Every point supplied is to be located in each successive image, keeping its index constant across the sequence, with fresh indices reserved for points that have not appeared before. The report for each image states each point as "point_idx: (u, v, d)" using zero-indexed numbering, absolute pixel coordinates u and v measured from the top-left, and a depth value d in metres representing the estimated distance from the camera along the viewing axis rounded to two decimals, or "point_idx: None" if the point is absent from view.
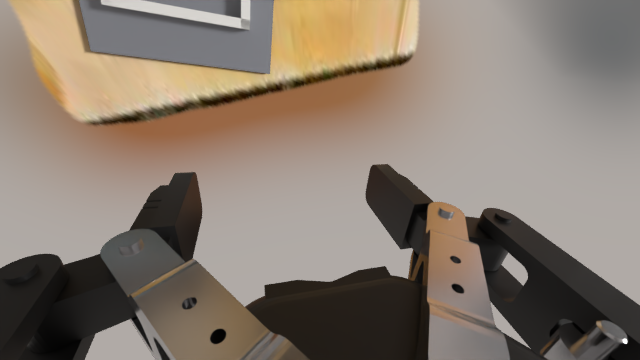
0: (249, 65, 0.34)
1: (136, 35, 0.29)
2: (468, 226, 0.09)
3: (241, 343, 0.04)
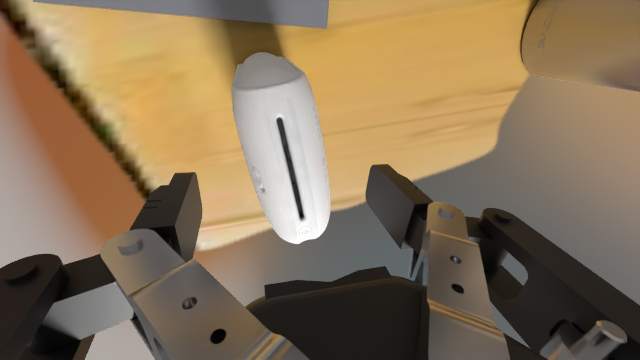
0: None
1: None
2: (468, 226, 0.09)
3: (242, 343, 0.04)
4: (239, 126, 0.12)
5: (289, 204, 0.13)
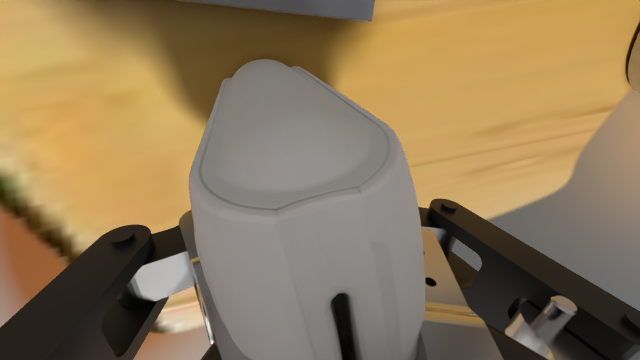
0: None
1: None
2: None
3: None
4: (211, 289, 0.04)
5: None
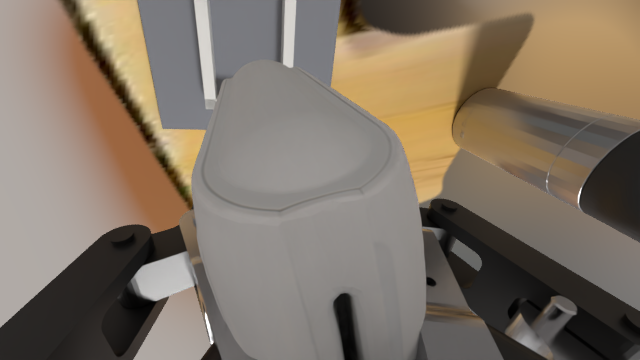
0: (166, 103, 0.26)
1: None
2: None
3: None
4: (214, 290, 0.04)
5: None
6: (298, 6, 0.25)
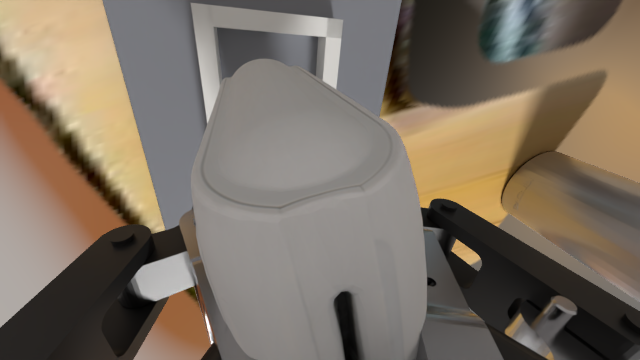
0: (171, 212, 0.21)
1: (156, 41, 0.15)
2: None
3: None
4: (214, 288, 0.04)
5: None
6: None
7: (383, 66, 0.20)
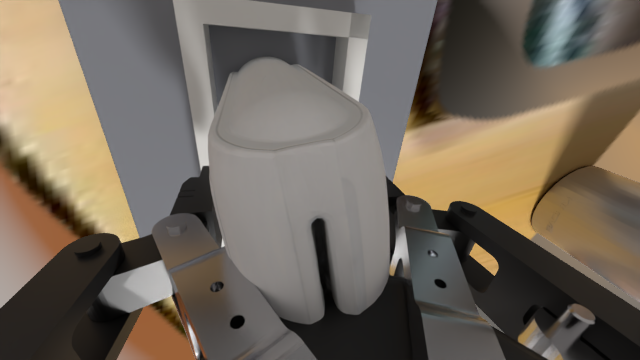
0: None
1: (129, 42, 0.12)
2: (435, 219, 0.09)
3: (257, 333, 0.04)
4: (221, 222, 0.05)
5: None
6: None
7: (413, 73, 0.16)
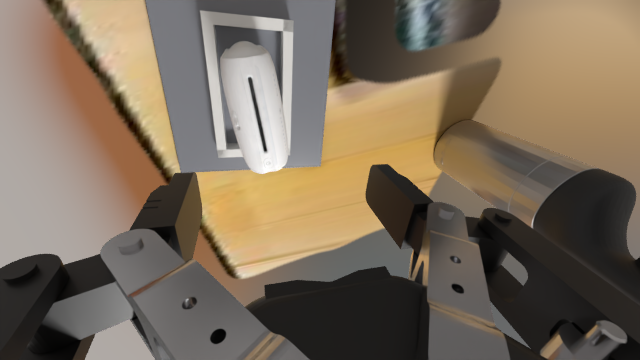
0: (184, 152, 0.31)
1: (177, 33, 0.25)
2: (468, 226, 0.09)
3: (242, 343, 0.04)
4: (224, 83, 0.18)
5: (256, 137, 0.19)
6: (293, 69, 0.29)
7: (326, 51, 0.29)
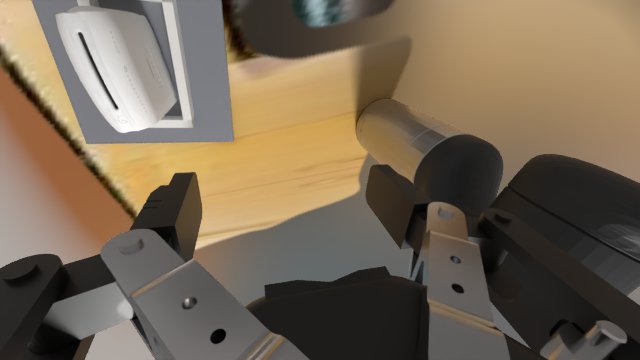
0: (86, 123, 0.32)
1: (59, 3, 0.26)
2: (468, 226, 0.09)
3: (242, 343, 0.04)
4: None
5: (99, 92, 0.20)
6: (187, 42, 0.30)
7: (219, 24, 0.30)
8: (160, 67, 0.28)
